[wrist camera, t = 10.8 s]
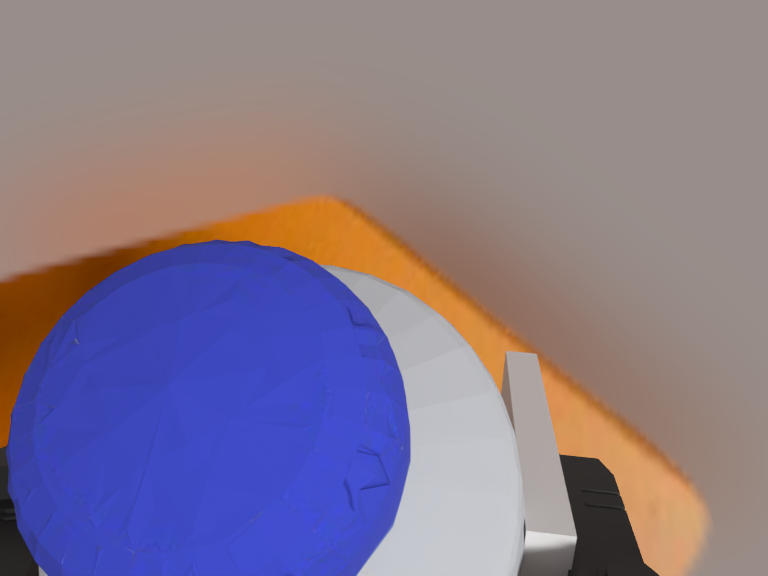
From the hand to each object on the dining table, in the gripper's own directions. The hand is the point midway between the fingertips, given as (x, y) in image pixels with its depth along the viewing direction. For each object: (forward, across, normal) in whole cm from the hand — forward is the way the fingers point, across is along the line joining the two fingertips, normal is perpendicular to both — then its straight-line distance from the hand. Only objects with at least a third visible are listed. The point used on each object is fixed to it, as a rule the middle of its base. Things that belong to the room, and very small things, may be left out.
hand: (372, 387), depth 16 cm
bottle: (+4, 0, -9) cm, 9 cm away
